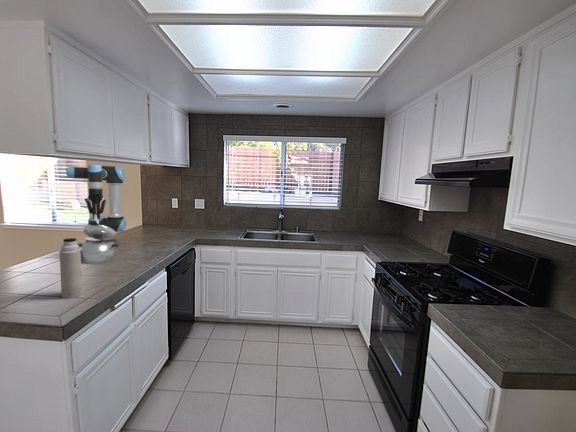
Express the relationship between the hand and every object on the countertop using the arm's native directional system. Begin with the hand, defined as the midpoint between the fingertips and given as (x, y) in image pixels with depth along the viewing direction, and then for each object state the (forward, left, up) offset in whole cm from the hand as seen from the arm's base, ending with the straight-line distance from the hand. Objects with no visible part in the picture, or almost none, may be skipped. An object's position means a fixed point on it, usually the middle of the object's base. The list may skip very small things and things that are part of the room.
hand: (96, 223), depth 193 cm
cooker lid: (-3, 0, -6) cm, 6 cm away
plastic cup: (-18, -10, -26) cm, 33 cm away
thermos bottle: (+59, +14, -26) cm, 66 cm away
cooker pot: (-2, 0, -26) cm, 26 cm away
